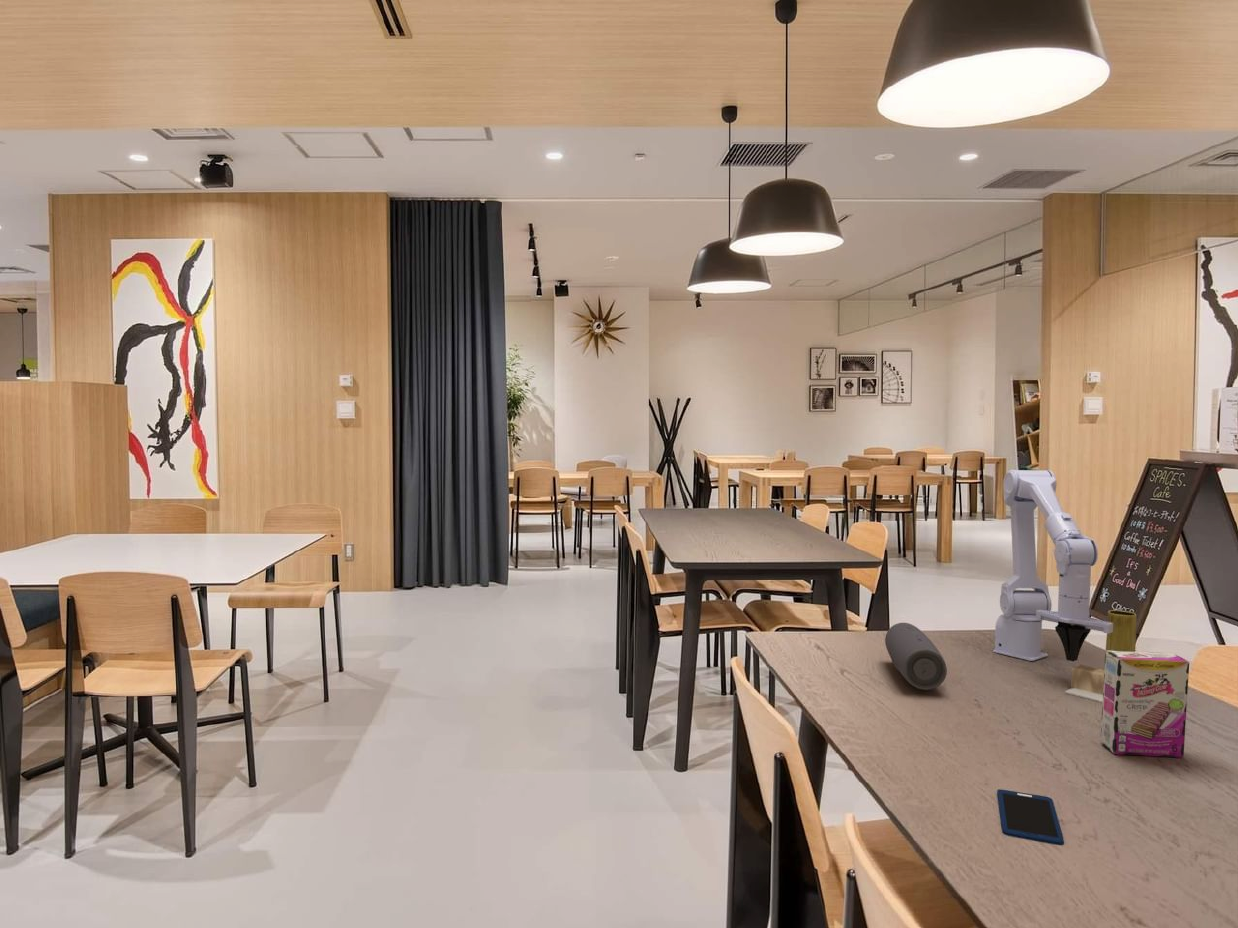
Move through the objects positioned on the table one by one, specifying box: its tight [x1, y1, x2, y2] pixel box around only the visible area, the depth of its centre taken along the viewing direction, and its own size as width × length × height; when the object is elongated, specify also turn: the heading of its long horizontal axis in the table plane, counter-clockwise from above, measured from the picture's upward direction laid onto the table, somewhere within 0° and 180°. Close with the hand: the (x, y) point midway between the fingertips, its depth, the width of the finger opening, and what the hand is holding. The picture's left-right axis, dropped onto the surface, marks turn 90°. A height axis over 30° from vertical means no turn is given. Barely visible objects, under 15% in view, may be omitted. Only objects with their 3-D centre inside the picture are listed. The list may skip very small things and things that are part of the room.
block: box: [1070, 664, 1104, 695], centre depth 163 cm, size 4×4×8 cm
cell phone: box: [996, 789, 1065, 846], centre depth 111 cm, size 7×14×1 cm, turn 158°
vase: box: [1103, 609, 1137, 670], centre depth 172 cm, size 6×6×14 cm
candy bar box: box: [1100, 650, 1190, 758], centre depth 133 cm, size 11×5×16 cm, turn 84°
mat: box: [1064, 687, 1103, 704], centre depth 163 cm, size 9×12×1 cm
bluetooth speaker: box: [884, 622, 948, 691], centre depth 171 cm, size 23×9×10 cm, turn 171°
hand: (1071, 659), depth 167 cm, fingers closed
